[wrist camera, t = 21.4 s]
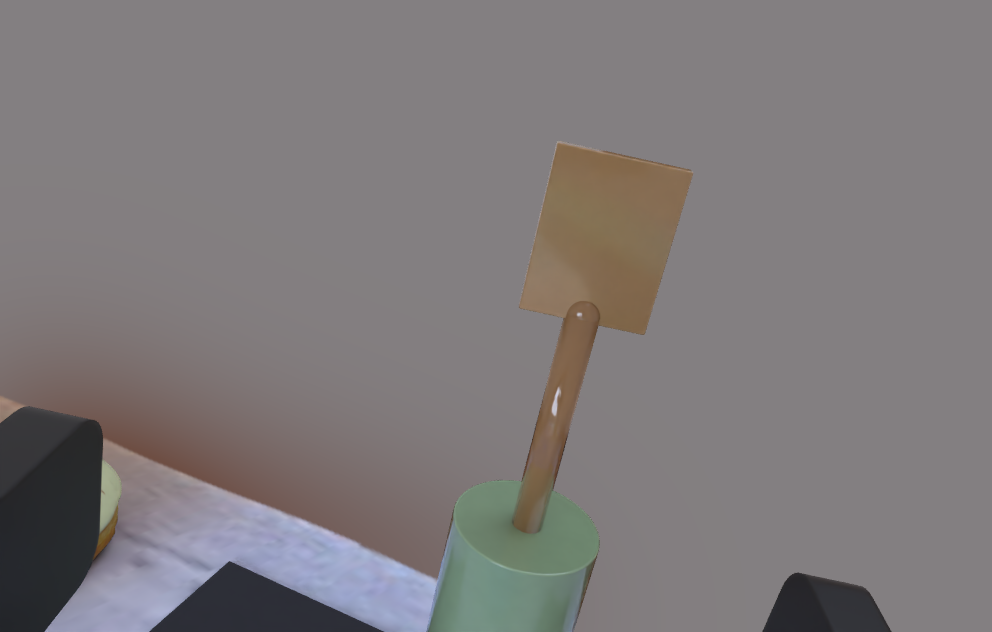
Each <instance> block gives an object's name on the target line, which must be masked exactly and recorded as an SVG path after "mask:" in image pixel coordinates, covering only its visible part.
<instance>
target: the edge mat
mask: <svg viewBox="0 0 992 632" xmlns="http://www.w3.org/2000/svg"><path fill="white" fill-rule="evenodd" d="M150 632H383V631H381V630H379V629H377V628H375V627H372V626H370V625H368V624H366V623H364V622H361V621H359V620H357V619H355V618H353V617H350V616H348V615H346V614H344V613H342V612H340V611H337V610H335V609H333V608H331V607H329V606H326V605H324V604H322V603H320V602H318V601H315V600H313V599H311V598H309V597H307V596H305V595H302V594H300V593H298V592H296V591H294V590H291V589H289V588H287V587H285V586H283V585H281V584H278V583H276V582H274V581H272V580H270V579H267V578H265V577H263V576H261V575H259V574H256V573H254V572H252V571H250V570H248V569H246V568H243V567H241V566H239V565H237V564H235V563H232V562H230V561H229V562H228V563H227V564H226V565H224V566H223V567H222V568H221V569H220V570H219V571H218V572H217V573H215V574H214V575H213V576H212V577H211V578H210V579H209V580H207V581H206V582H205V583H204V584H203V585H202V586H201V587H200V588H198V589H197V590H196V591H195V592H194V593H193V594H192V595H190V596H189V597H188V598H187V599H186V600H185V601H184V602H182V603H181V604H180V605H179V606H178V607H177V608H176V609H175V610H173V611H172V612H171V613H170V614H169V615H168V616H167V617H165V618H164V619H163V620H162V621H161V622H160V623H159V624H157V625H156V626H155V627H154V628H153V629H152V630H151V631H150Z"/></svg>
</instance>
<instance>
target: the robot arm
mask: <svg viewBox="0 0 992 632" xmlns="http://www.w3.org/2000/svg"><path fill="white" fill-rule="evenodd" d="M102 452H103V435H102V429H101V426H100V425H99V423H98V422H97V421H95V420H90V419H85V418H81V417H76V416H71V415H67V414H62V413H58V412H53V411H48V410H44V409H39V408H34V407H30V406H28V407H23V408H20V409H19V410H17V411H16V412H14V413H13V414H12V415H10V416H9V417H8V418H6V419H5V420H4V421H3V422H1V423H0V632H44V631H45V630H46V629H47V627H48V626H49V625H50V624H51V622H52V621H53V620H54V619H55V617H56V616H57V615H58V613H59V612H60V611H61V610H62V608H63V607H64V606H65V605H66V603H67V602H68V601H69V599H70V598H71V597H72V596H73V594H74V593H75V592H76V590H77V589H78V588H79V586H80V585H81V583H82V582H83V580H84V578H85V576H86V574H87V572H88V570H89V568H90V566H91V563H92V561H93V558H94V555H95V552H96V549H97V545H98V540H99V533H100V511H101V482H102ZM763 632H891V630H890V628H889V627H888V625H887V623H886V621H885V620H884V617H883V616H882V614H881V612H880V610H879V608H878V607H877V605H876V603H875V601H874V599H873V598H872V596H871V594H870V593H869V592H868V591H867V590H866V589H865V588H864V587H862V586H858V585H853V584H849V583H844V582H839V581H834V580H829V579H825V578H820V577H815V576H811V575H806V574H802V573H794V574H792V575H791V576H790V577H789V578H788V579H787V580H786V581H785V583H784V585H783V587H782V589H781V591H780V593H779V595H778V598H777V600H776V602H775V605H774V607H773V609H772V611H771V613H770V616H769V618H768V621H767V623H766V625H765V627H764V630H763Z"/></svg>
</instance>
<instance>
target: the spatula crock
mask: <svg viewBox="0 0 992 632" xmlns="http://www.w3.org/2000/svg"><path fill="white" fill-rule="evenodd" d="M692 176H693V172H692V171H691V170H689V169H684V168H680V167H675V166H670V165H666V164H662V163H657V162H653V161H648V160H643V159H639V158H634V157H629V156H625V155H621V154H616V153H612V152H607V151H602V150H598V149H594V148H589V147H584V146H580V145H575V144H571V143H566V142H561V141H557V144H556V148H555V152H554V157H553V161H552V165H551V170H550V174H549V178H548V182H547V187H546V192H545V195H544V200H543V204H542V208H541V212H540V217H539V221H538V225H537V229H536V234H535V238H534V242H533V247H532V251H531V255H530V259H529V264H528V268H527V272H526V277H525V281H524V285H523V289H522V294H521V298H520V302H519V308H520V309H526V310H529V311H534V312H539V313H543V314H548V315H553V316H557V317H562V318H564V319H563V323H562V326H561V330H560V334H559V338H558V343H557V346H556V350H555V354H554V357H553V361H552V365H551V369H550V373H549V377H548V381H547V385H546V389H545V392H544V396H543V400H542V404H541V408H540V412H539V416H538V420H537V423H536V428H535V431H534V435H533V439H532V443H531V447H530V451H529V454H528V458H527V462H526V466H525V470H524V474H523V478H522V481H513V480H497V481H490V482H485V483H481V484H478V485H476V486H474V487H471V488H470V489H468V490H467V491H465V492H464V493H463V494H462V495H461V496H460V498H459V499H458V500H457V502H456V504H455V506H454V510H453V514H452V519H451V523H450V528H449V532H448V537H447V541H446V545H445V550H444V555H443V559H442V563H441V568H440V573H439V577H438V581H437V586H436V590H435V595H434V599H433V604H432V608H431V612H430V617H429V621H428V626H427V630H426V632H573V631H574V628H575V625H576V621H577V618H578V615H579V612H580V609H581V606H582V603H583V599H584V596H585V593H586V590H587V586H588V583H589V580H590V577H591V573H592V570H593V567H594V564H595V560H596V558H597V554H598V551H599V545H600V544H599V543H600V540H599V535H598V532H597V529H596V527H595V525H594V523H593V521H592V520H591V519H590V517H589V516H588V515H587V514H586V513H585V512H584V511H583V510H582V509H581V508H580V507H579V506H578V505H576V504H575V503H574V502H573V501H571V500H570V499H568V498H566V497H565V496H563V495H561V494H559V493H557V492H555V491H553V488H554V484H555V481H556V477H557V473H558V469H559V466H560V462H561V459H562V455H563V451H564V448H565V444H566V440H567V437H568V433H569V430H570V426H571V423H572V419H573V415H574V412H575V408H576V404H577V401H578V397H579V394H580V390H581V386H582V383H583V379H584V375H585V372H586V368H587V365H588V361H589V358H590V354H591V350H592V347H593V343H594V339H595V336H596V332H597V329H598V325H599V326H604V327H608V328H613V329H618V330H622V331H627V332H632V333H636V334H641V335H644V334H645V332H646V329H647V325H648V322H649V318H650V315H651V312H652V309H653V305H654V302H655V298H656V295H657V292H658V289H659V285H660V282H661V279H662V275H663V272H664V269H665V265H666V262H667V259H668V256H669V252H670V249H671V246H672V242H673V239H674V236H675V232H676V229H677V226H678V222H679V219H680V216H681V212H682V209H683V206H684V202H685V199H686V196H687V192H688V189H689V186H690V183H691V179H692Z"/></svg>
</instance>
